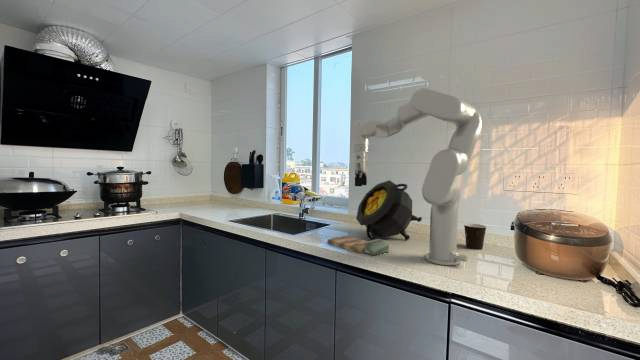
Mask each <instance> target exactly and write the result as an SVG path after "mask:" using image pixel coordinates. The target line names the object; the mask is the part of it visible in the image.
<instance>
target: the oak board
mask: <svg viewBox="0 0 640 360" xmlns="http://www.w3.org/2000/svg"><path fill="white" fill-rule="evenodd" d="M367 241H368V240H365V239H360V238H356V237H354V236H353V237H352V236H349V235H340V236H338V237H332V238H327V245H330V246H334V247H336V248H340V249H344V250H347V251H351V252H354V253H357V254H360V255H362V254H365V242H367Z"/></svg>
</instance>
